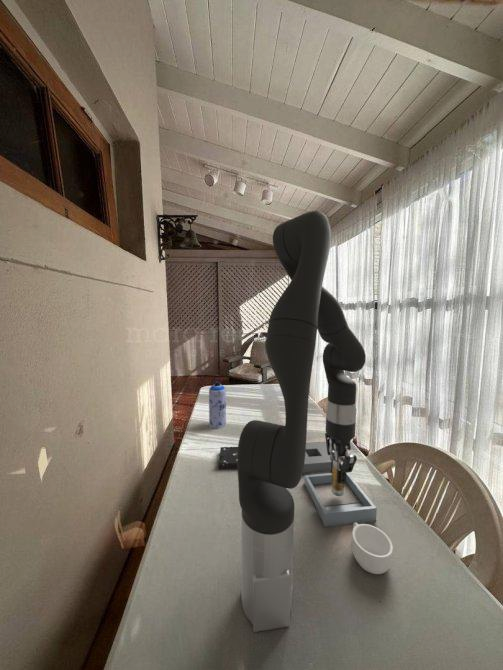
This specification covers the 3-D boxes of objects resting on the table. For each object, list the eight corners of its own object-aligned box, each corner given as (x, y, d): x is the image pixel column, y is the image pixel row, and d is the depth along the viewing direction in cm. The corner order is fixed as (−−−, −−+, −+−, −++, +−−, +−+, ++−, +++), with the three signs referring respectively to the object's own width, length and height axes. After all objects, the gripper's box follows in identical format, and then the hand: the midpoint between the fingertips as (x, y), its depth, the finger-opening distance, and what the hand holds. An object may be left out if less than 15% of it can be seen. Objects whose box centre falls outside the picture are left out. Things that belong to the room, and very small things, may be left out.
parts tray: (376, 520, 65) (376, 508, 65) (324, 526, 64) (325, 513, 63) (346, 482, 80) (347, 471, 79) (304, 486, 78) (304, 475, 78)
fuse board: (346, 472, 85) (346, 460, 84) (292, 476, 82) (292, 465, 82) (329, 452, 97) (330, 441, 96) (282, 455, 94) (282, 445, 94)
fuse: (345, 495, 70) (347, 464, 69) (334, 496, 70) (336, 465, 69) (340, 487, 73) (341, 457, 72) (329, 488, 73) (330, 458, 72)
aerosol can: (219, 430, 113) (218, 385, 111) (205, 426, 117) (204, 382, 115) (229, 423, 120) (229, 381, 118) (216, 419, 124) (216, 378, 122)
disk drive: (218, 471, 86) (263, 469, 87) (218, 463, 85) (263, 461, 86) (220, 454, 96) (260, 452, 97) (220, 446, 96) (260, 445, 97)
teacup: (400, 577, 52) (402, 552, 51) (366, 586, 50) (368, 560, 50) (367, 534, 62) (368, 513, 61) (338, 541, 60) (339, 519, 59)
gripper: (369, 428, 63) (365, 495, 65) (341, 406, 77) (338, 462, 78) (340, 430, 62) (337, 498, 64) (317, 407, 76) (315, 464, 77)
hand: (338, 477), depth 71 cm, fingers closed on fuse, 3 cm apart
